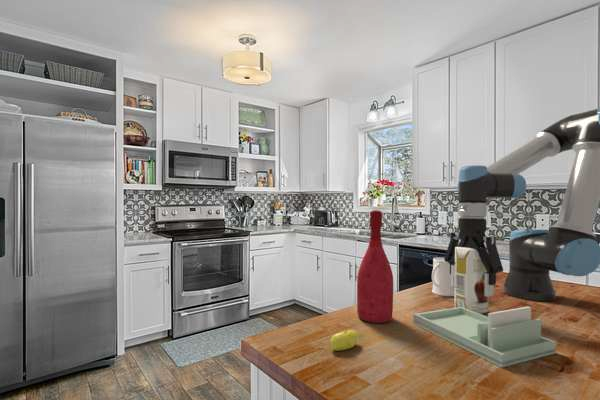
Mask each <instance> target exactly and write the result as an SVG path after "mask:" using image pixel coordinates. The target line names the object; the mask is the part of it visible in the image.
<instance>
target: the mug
mask: <svg viewBox="0 0 600 400" xmlns="http://www.w3.org/2000/svg"><path fill="white" fill-rule="evenodd" d="M444 258H445V257H433V259H432V262H433V263H432V265H433V266H432V267H433V268H432V271H431V281H432V290H431V292H432V293H433V294H434V295H438V296H443V297H454V290H455V286H451V274H450V264H449V263H448V262H447V261H445V260H444Z"/></svg>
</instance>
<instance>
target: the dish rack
mask: <svg viewBox="0 0 600 400" xmlns="http://www.w3.org/2000/svg"><path fill="white" fill-rule="evenodd" d="M531 314H532V307H531V306H525V307H524V306H523V307H517V308H512V309H511V308H510V309H507V310H500V311H494V312H489V313H488V312H487V315H484V314H482V313H480V314H479V313H476V312H473V311H471V310H468V309H465V308H462V307H456V308H454V307H451V308H444V309H437V310H430V311H424V312H417V313H413V324H414V325H416V326H418V327H420V328H422V329H424V330H426V331H428V332H430V333H432V334H434V335H435V336H438V337H440V338H442V339H444V340H445V341H448V342H450V343H452V344H454V345H456V346H458V347H460V348H461V349H464V350H466V351H468V352H470V353H472V354H474V355H476V356H478V357H480V358H482V359H484V360H485V361H488V362H489V363H492V364H494V365H495V366H498V367H500V368H505V367H509V366H512V365H517V364H520V363H524V362H527V361H532V360H536V359H539V358H543V357H547V356H550V355H551V356H552V355H554V354H556V353H557V347H556V346H557V342H556V341H554V340H552V339H549V338H547V337H544V336H542V319H540V318H536V319H532V315H531Z"/></svg>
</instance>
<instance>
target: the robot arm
mask: <svg viewBox="0 0 600 400" xmlns="http://www.w3.org/2000/svg"><path fill="white" fill-rule="evenodd" d="M571 150H573V151H574V153H575V158H574V160H573V164H572V168H571V170H570V175H569V178H568V183H567V185H566V189H565V193H564V195H563V200H562V203H561V206H560V210H559V214H558V217H557V221H556V223H554V224H552V225H550V226H549V228H548V229H517V230H516V229H515V230H513V231H511V232H510V234H509V240H508V244H509V251H508V252H509V271H508V274H507V276H506V278H505V281H504V284H503V293H505V294H506V295H508V296H512V297H513V298H514V297H515V298H518V299H524V300H531V301H538V302H548V301H549V302H550V301H554V300H556V290H555V287H554V285H553V282H552V278H551V276H550V271H551V272H554V273H558V274H562V275H565V276H573V277H585V276H588V275H589V274H592V273H593V272H595V271H596V270H597V269H598V267H599V266H600V244H599V243H598V242H597V241H596V240H597V235H596V234H595V233H594V232H593V230H592V228H593V224H594V221H595V218H596V215H597V211H598V208H599V204H600V107H599V108H595V109H592V110H588V111H584V112H580V113H576V114H571V115H569V116H566V117H563V118H562V119H560V120H558V121H556V122H555V123H553V124H551V125H549V126H547V127H546V128H545V129H542V130H541V131H540V132H538V133H536V134H534V137H533V139H531V140H530V141H529V142H527V143H525V144H524V145H522V146H519V148H517V149H515V150H513V151H512V152H510V153H508V154H507V155H505V156H504V157H502V158H500V159H498V160H496V161H495V162H493V163H492V164H490V165H488V166H486V165H478V164H477V165H464V166H462V167H460V168H459V171H458V181H457V185H456V190H457V193H458V216H459V217H458V219H457V220H458V221H457V222H458V223H457V226H458V227H457V229H458V230H459V232H450V240H449V243H448V247H447V250H446V253H445V256H444V257H443V258H444V260H445V261H447V262H448V263H449V264H450V274H451V286H455V247H465V248H472V249H475V250H477V251H478V253H479V256H480V258H481V260H482V262H483V264H484V266H485V268H486V270H487V272H486V273H485V289H484V296H486V297H488V298H489V297H493V296H494V291H495V290H494V287H495V286H496V285H497V284H496V283H497V274H499V273H503V272H504V267H503V264H502V261H501V258H500V254H499V251H498V248H497V243H496V242H497V238H496V237H495V236H486V231H487V218H486V217H487V216H488V214H487V212H488V211H487V210H488V209H487V208H488V206H487V205H488V204H487V202H488V199H517V198H520V197H522V196H524V194H525V192H526V190H527V181H526V179H525V177H524V176H522V175H521V173H523V172H524V171H526V170H528V169H529V168H531V167H533V166H534V165H536V164H538V163H540V162H541V161H543V160H544V159H547V158H550V157H552V158H553V157H555V156H556V155H558V154H560V153H563V152H566V151H571ZM480 247H481V248H480ZM487 251H488V252H487Z"/></svg>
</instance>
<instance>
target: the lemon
mask: <svg viewBox="0 0 600 400" xmlns="http://www.w3.org/2000/svg"><path fill="white" fill-rule="evenodd" d="M359 340H360V338H359V333H358V332H357V331H356V330H354V329H349V330H343V331H341V332H338V333H334V334H333V335H332V336H331V338H330V342H329V344H330V347H331V349H332V350H334V351H337V352H338V351H345V350H348V349H351V348H353V347H355V345H357V343H358V342H359Z"/></svg>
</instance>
